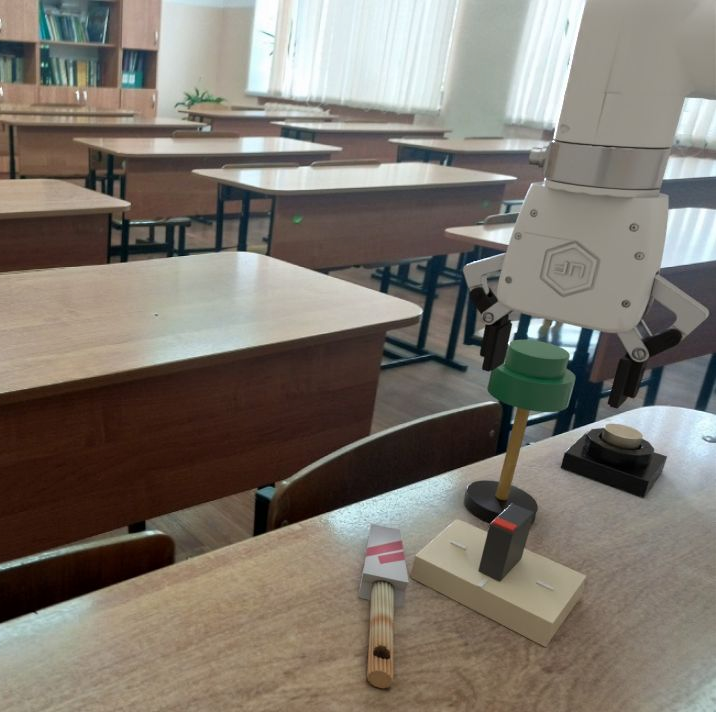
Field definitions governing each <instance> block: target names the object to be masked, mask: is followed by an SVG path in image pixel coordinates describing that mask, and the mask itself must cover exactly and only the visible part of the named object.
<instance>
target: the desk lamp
mask: <svg viewBox="0 0 716 712" xmlns="http://www.w3.org/2000/svg"><path fill="white" fill-rule="evenodd" d="M570 356H571V355H570V352H569V351H568V350H566V349H565V348H562V347H560V346H558V345H556V344H552V343H549V342H544V341H541V340H534V339H515V340H514V339H513V340H511V341H509V342H508V347H507V352H506V356H505V361H504V363H503V364H502V365H500V366H499V367H497V368H496V369H494V370H492V371H490V375H489V379H488V384H487V387H486V388H487V393H488V394H489V395H490V396H492V397H493V398H494V399H496V400H497V401H499V402H502V403H503V404H506V405H508V406H511V407H515V408H516V412H515V416H514V419H513V424H512V427H511V432H510V436H509V440H508V443H507V444H508V445H507V448H506V451H505V457H504V459H503V460H504V461H503V465H502V468H501V472H500V477H499V480H498V481H496V480H487V479H486V480H484V479H483V480H476V481H473V482H470V483H469V484H468V485H467V486H466V488H465V493H464V497H463V504H464V506H465V508H466V510H467V511H468V512H469V513H470V514H472V515H473V516H475V518H478V519H479V520H482V521H484V522H485V523H488V524H490V523H491V522H492V521H494V520H495V519H496V518H497V517H498V516H499V515H500V514H501V513H502V512H503V511H504V510H505V509H506V508H507V507H508V506H510V505H511V504H514V505H517V506H519V507H522V508H524V509H527V510H529V511H532V512H534V514H533V518H532V522H531V525H532V524H534V522H535V520H536V516H537V513H538V509H539V505H538V503H537V501H536V499H535V498H534V497H533V496H532V495H531V494H529V493H528V492H527V491H525V490H524V489H522V488H519V487H517V486H515V485H512V483H513V479H514V475H515V471H516V467H517V463H518V460H519V455H520V452H521V449H522V443H523V440H524V436H525V432H526V428H527V425H528V420H529V417H530V412H531V411H532V412H539V413H558V412H562V411H565V410H566V409H567V408H568V407H569V404H570V400H571V397H572V394H573V390H574V386H575V382H576V380H577V379H576V375H575V374H574V373H573V372H572V371H571V370H570V369H568V368H567V367H568V365H569V361H570V358H571V357H570Z"/></svg>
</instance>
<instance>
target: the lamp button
mask: <svg viewBox="0 0 716 712" xmlns="http://www.w3.org/2000/svg"><path fill="white" fill-rule="evenodd" d="M603 428H604V429H603V433H602V436H601V441H603V442H605V443H607V444H608V445H610V446H614V447H617V448H620V449H625V450H638V449H639V446H640V443H641V440H642V439H643V433H642V432H641V431H640V430H638V429H636V428H634V427H631V426H629V425H625V424H620V423H607V424H605V425H604V426H603Z"/></svg>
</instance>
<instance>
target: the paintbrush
mask: <svg viewBox="0 0 716 712" xmlns="http://www.w3.org/2000/svg"><path fill="white" fill-rule="evenodd" d="M404 552H405V551H404V545H403V538H402V532H401V529H400V528H395V527H389V526H383V525H380V524H374V523H371V524H370V529H369V533H368V540H367V545H366V550H365V557H364V561H363V568H362V573H361V578H360V584H359V589H358V595H357V598H358V599H363V600H367V601H370V615H369V616H370V617H369V618H370V620H369V637H368V639H369V640H368V652H367V653H368V654H367V656H368V657H367V669H366V671H367V672H366V677H367V681H368V682H369V684H371V685H373V687H376V688H378V689H385V688H389V687H391V686H392V685H393V683H394V607H398V608H403V607H404V606H403V605H404V598H405V592H406V589H407V587H408V586H409V583H410V581H409V576H408V570H407V564H406V563H407V562H406V556H405V553H404Z"/></svg>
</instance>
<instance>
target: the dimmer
mask: <svg viewBox="0 0 716 712" xmlns="http://www.w3.org/2000/svg"><path fill="white" fill-rule="evenodd" d="M487 533H488V531H486V530H484V529H481V528H480V527H477V526H476V525H473V524H470V523H469V522H465V521H463V520H461V519H458V518H456V519H454V521H452V523H450V524H449V525H448V526H447V527H446V528H445V529H443V530H442V531H441V532H440V533H439V534H438V535H436V536H435V538H433V539H432V540H431V541H430V542H428V544H426V545H425V546H424V547H423V548H422V549H421V550H419V551H418V552H417V553H416V554H415V555H414V559H413V564H412V568H411V573H410V579H412V580H414V581H416V582H418V583H420V584H423V585H424V586H426V587H428V588H430V589H432V590H433V591H436V592H438V593H439V594H442V595H444V596H445V597H447V598H449V599H451V600H453V601H455V602H457V603H458V604H461V605H463V606H465V607H466V608H468V609H470V610H472V611H474V612H477V613H478V614H480V615H482V616H484V617H486V618H488V619H490V620H492V621H493V622H496V623H497V624H499V625H502V626H504V627H505V628H507V629H509V630H511V631H513V632H515V633H517V634H519V635H521V636H523V637H525V638H526V639H529V640H531V641H533V642H534V643H536V644H538V645H540V646H541V647H544V648H546V647H547V646H548V645H549V643H550V642H551V640H553V638H554V636H555V635H556V633H557V632H558V631H559V630H560V627H561V626H562V625H563V623H564V622H565V621H566V619H567V617H568V616H569V615H570V613H571V612H572V611H573V609H574V608H575V606H576V604H578V602H579V600H580V598H581V596H582V593H583V590H584V586H585V584H586V579H587V577H588V576H587V575H585V574H584V573H581V572H579V571H576V570H574V569H572V568H569V567H567V566H566V565H562V564H560V563H558V562H557V561H553V560H552V559H549V558H547V557H545V556H543V555H540V554H538V553H536V552H534V551H531V550H529V549H527V548H524V551H523V555H522V558H521V560H520V561H519V562H518V563H517V564H516V565H515V566H514V567H513V568H512V569H511V571H510V572H509V573H508V574H507V575H506V576H505V577H504V578H503V579H502V580H501V581H498V580H496V579H494V578H491V577H489V576H487V575H485V574H483V573H481V572H479V571H478V570H479V566H480V562H481V557H482V553H483V549H484V545H485V541H486V537H487Z"/></svg>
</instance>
